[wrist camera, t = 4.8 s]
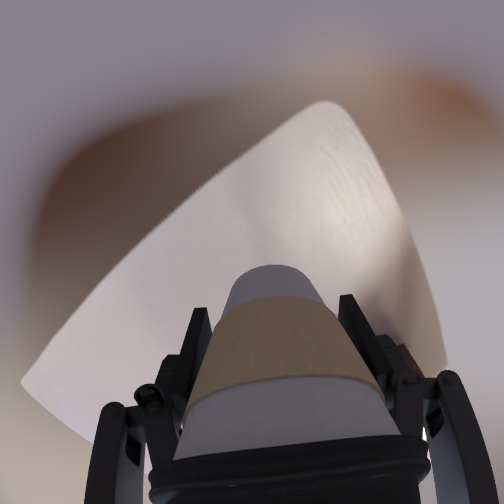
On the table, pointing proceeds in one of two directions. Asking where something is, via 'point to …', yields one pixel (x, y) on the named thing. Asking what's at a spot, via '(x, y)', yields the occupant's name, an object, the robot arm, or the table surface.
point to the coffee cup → (287, 410)
